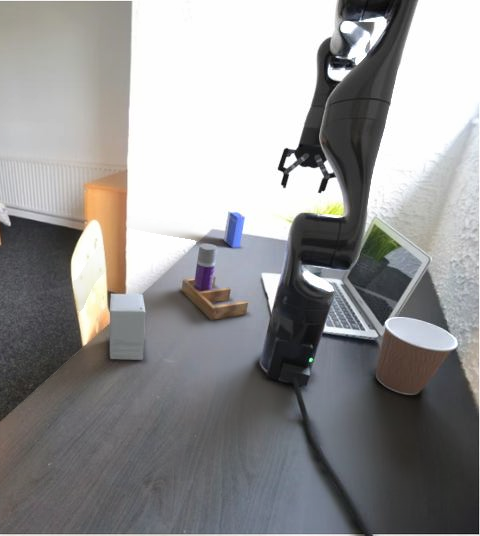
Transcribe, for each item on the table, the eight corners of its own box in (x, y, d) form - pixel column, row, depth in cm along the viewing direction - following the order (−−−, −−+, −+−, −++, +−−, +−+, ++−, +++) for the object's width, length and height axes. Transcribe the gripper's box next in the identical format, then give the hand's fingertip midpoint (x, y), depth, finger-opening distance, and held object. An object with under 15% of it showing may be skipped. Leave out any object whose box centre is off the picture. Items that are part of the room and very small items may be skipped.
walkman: (239, 247, 136) (245, 216, 131) (232, 247, 136) (237, 216, 131) (230, 239, 143) (235, 209, 138) (223, 240, 143) (228, 209, 138)
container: (211, 300, 103) (218, 250, 97) (193, 299, 104) (199, 249, 98) (209, 292, 107) (216, 243, 101) (192, 290, 108) (198, 242, 102)
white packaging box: (141, 340, 87) (144, 293, 82) (142, 361, 81) (146, 311, 75) (109, 339, 88) (110, 292, 83) (108, 359, 82) (109, 310, 76)
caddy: (211, 320, 95) (213, 308, 93) (181, 290, 109) (182, 279, 107) (246, 314, 97) (248, 302, 95) (212, 286, 111) (213, 275, 109)
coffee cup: (446, 402, 69) (475, 349, 64) (389, 402, 69) (413, 350, 64) (403, 364, 78) (425, 316, 73) (353, 365, 78) (372, 316, 73)
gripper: (288, 124, 95) (272, 188, 101) (355, 129, 89) (332, 196, 95) (290, 124, 101) (273, 184, 108) (351, 129, 95) (331, 192, 101)
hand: (301, 190), depth 101 cm, fingers open, 8 cm apart
